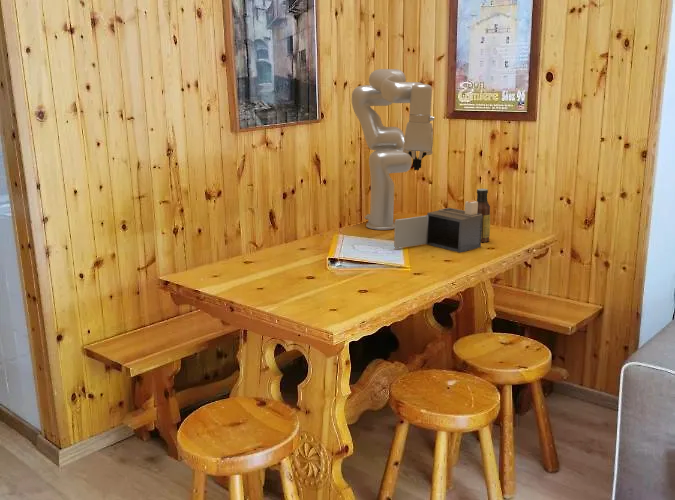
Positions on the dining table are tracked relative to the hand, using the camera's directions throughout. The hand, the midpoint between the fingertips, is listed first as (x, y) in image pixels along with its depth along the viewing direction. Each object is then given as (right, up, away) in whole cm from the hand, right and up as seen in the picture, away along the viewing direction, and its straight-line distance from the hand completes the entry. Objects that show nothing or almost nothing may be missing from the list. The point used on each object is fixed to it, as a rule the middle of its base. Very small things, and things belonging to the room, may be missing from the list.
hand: (416, 169), depth 262 cm
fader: (+19, -17, -2) cm, 26 cm away
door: (-2, -28, 0) cm, 28 cm away
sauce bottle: (+25, -26, +10) cm, 38 cm away
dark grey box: (+14, -28, +2) cm, 31 cm away
